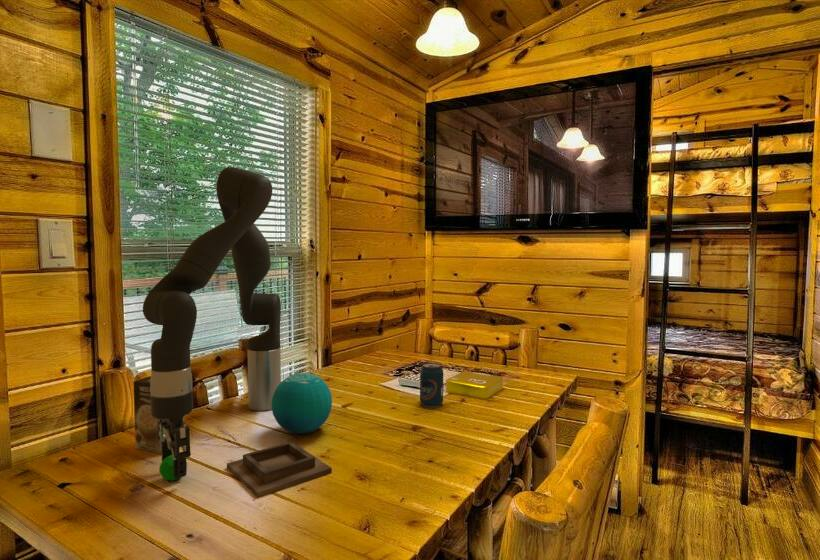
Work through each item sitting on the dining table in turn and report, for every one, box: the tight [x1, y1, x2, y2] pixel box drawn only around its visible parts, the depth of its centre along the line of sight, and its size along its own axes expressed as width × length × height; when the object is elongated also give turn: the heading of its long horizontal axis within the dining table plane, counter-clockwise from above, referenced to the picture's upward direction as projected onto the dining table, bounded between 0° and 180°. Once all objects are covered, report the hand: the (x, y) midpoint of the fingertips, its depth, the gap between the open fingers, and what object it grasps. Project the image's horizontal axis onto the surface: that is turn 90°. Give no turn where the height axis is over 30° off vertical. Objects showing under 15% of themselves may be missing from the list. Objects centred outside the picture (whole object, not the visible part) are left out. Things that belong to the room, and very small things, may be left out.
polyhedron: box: [159, 455, 188, 482], centre depth 98 cm, size 5×5×5 cm
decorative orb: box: [271, 372, 333, 435], centre depth 123 cm, size 15×15×15 cm
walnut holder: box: [226, 441, 333, 498], centre depth 102 cm, size 16×16×3 cm
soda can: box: [419, 362, 444, 408], centre depth 145 cm, size 7×7×12 cm
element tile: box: [445, 370, 503, 400], centre depth 161 cm, size 15×15×5 cm
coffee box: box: [133, 375, 185, 455], centre depth 114 cm, size 9×6×16 cm
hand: (173, 469), depth 98 cm, fingers open, 8 cm apart
